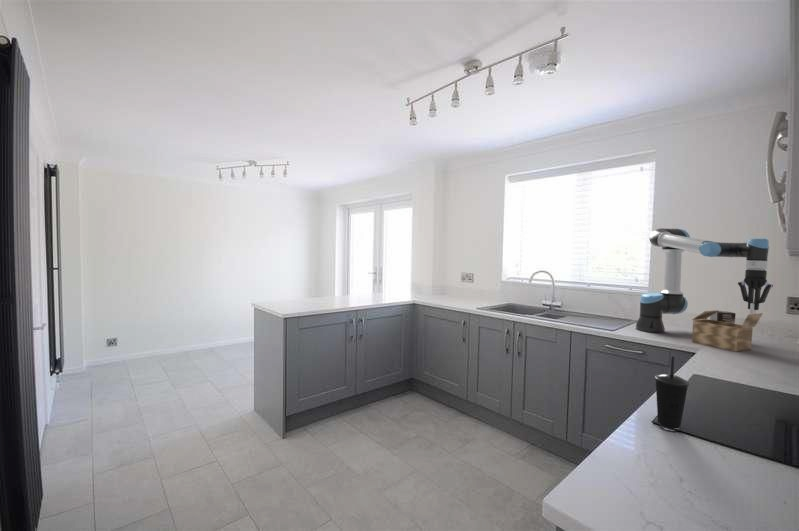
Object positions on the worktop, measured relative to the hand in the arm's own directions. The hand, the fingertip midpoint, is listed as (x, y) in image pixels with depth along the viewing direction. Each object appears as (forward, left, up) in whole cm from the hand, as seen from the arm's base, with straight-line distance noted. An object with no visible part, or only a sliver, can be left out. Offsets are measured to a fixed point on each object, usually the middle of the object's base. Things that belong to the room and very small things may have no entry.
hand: (752, 316), depth 178 cm
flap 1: (-20, 0, -3) cm, 20 cm away
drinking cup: (+33, -126, -19) cm, 132 cm away
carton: (-12, 0, -18) cm, 22 cm away
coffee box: (-20, +18, -19) cm, 33 cm away
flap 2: (-1, 0, -2) cm, 3 cm away
